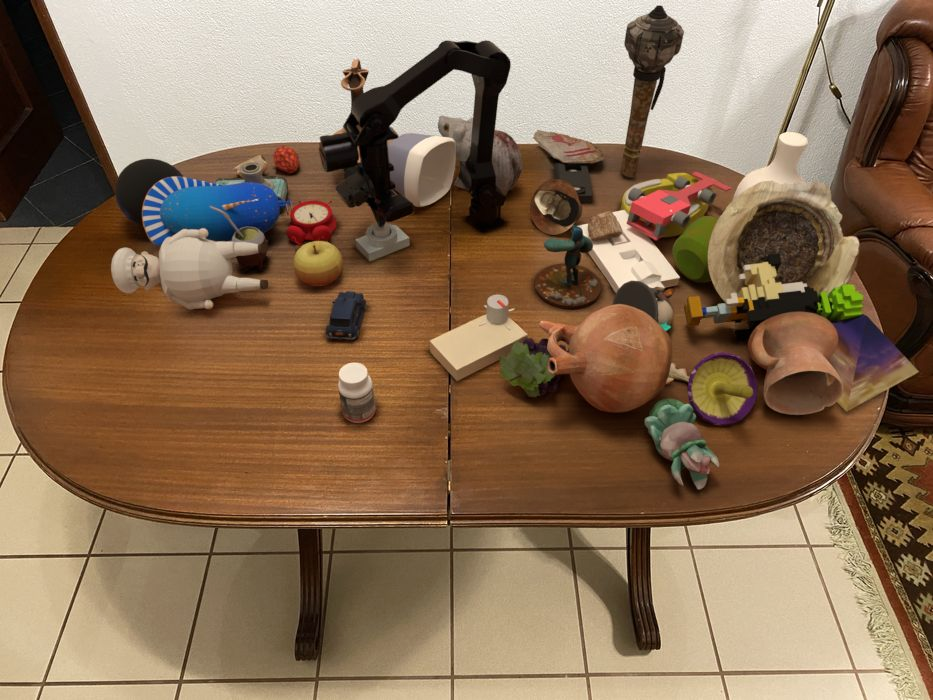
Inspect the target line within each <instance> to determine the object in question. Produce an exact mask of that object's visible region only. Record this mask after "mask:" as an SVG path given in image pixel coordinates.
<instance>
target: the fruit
mask: <svg viewBox="0 0 933 700" xmlns="http://www.w3.org/2000/svg"><path fill="white" fill-rule="evenodd" d="M548 340H549V338H541V339H540V341H538V342H535V340H534V339H533V338H529V337H528V338H525V339H524V340H523V342H522V343H521V344H520V343H519V342H518V341H517V340H516V341H515V343H514V345H513V346H512V347H513V349H512V348H511V354H509V353H507V356H506V357H502V356H499V359H500V360H499V365H500V368H499V369H500V372H499V373H500V375H501V377H502V378H503V379H504V380H505V381H507V382H508V383H510V386H513V387H516V386H517V387H521V389H522V390H524V392H525V393H526V395H527V397H529V398H537V396H543V395H545V394H546V393H547V392H551V393H552V392H553V393H554V392H555V391H557V389H558V388H559V384H558V383H559V382H558V381H560V380H561V378H562V375H563V374H560V375H553V374H551V373H550V372H549V370H548V361H549V359H550V358H553V357H552V356H551V355H550V353H549V352H548V350H547V345H548ZM558 345H559V346H560V347H561V348H562V349H563V350H565V351H566V352H568V350H567V347H566V346H565V345H564V344H558Z"/></svg>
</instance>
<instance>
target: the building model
mask: <svg viewBox="0 0 933 700" xmlns="http://www.w3.org/2000/svg"><path fill="white" fill-rule="evenodd" d="M611 212H612V213H613V214H614V215H615V216H616V218H617V221H618V222H619V224H620V226H621V228H622V234H621V235H620V236H619V237H617V238H616V237H614V238H607V239H602V240H598V241H592V240H591V238H590V237H589V233H588V223H585V224H580V225H577V226H578V227H580V228H582V230H583V235H584V236H586V237H587V238H589V239H590V240H591V242H592V244H593V248H592V250H591V251H589V252H588V255H589V256H590V257H591V259H592V260H593V262H594V263H595V265H596V266H597V268H598V269H599V271H600V272H601V274H602V275H603V276H604V277H605V279H606V281H607V282H608V284H609V285H610V287H611V288H612V290H613V292H614V293H615V294H616V293H617V291H618V289H619V288H620V287H621V286H622V285H623V284H624V283H627V282H629V281H641V282H643V283H644V284H646V285H648V286H649V287H651V288H654V289H656V290H659V291H661V293H662V294H663V293H664V290H665V289H666V288H672V287H677V286H678V284H679V281H680V278H681V276H680V275H679V274H678V273H677V272H676V270H675V269H674V267H673V266H672V265H671V263H670V262H669V261H668V260H667V258H666V257H665V256H664V254H663V253H662V252H661V250H660V249H659V248H658V247H657V246H656V244H655V243H654V242H653V241H652V240H651V237H649V236H647V235H646V234H644V233H642V232H640V231H638V230H637V229H635V228H633V227H631V226H630V225H628V224H626V223H627V221H628V216H629V215H628V214H627V213H626V211H625V210H621V211H620V210H617V211H611Z"/></svg>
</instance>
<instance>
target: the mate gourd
mask: <svg viewBox="0 0 933 700" xmlns="http://www.w3.org/2000/svg"><path fill="white" fill-rule="evenodd" d="M210 208H212V209H214V210H216V211H218V212H220V213H221V214H223V216H224V217H225V218H226V219H227V220H228V221H229V222H230V224H231V225H232V226H233V227H234V229H235V230H236V232H235V233H234V235H233V237H232V240H231V242H247V243H254V244H266V247H267V251H266V253H256V254H252V255H245V256H236V257H235V258H236V260H237V262H238V264H239V265H240V267H241V268H240V270H241V272H243V273H245V272H247V271H248V270H250V269H252V268H256V269H257V270H258V271H260V272H262V273H263V272H264V271H265V267H264V266H263V262H265V261H267V260H268V256H267V253H268V248H269V247H268V246H269V245H268V242H267V241H266V240H267V238H266V236H265V233H262V232H261V231H260V230H258V229H257V228H255V227H243V228H240V229H237V227H236V226H235V225H234V223H233V222H232V220H231V219H230V218H229V216H228V214H227V213H225V212H223V211H222V210H220V209H217V208H215V207H212V206H210Z"/></svg>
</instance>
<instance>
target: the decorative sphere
mask: <svg viewBox="0 0 933 700" xmlns="http://www.w3.org/2000/svg"><path fill="white" fill-rule="evenodd" d="M173 176H179V177H184V175H183V174H182V173H181V171H179V170H178V169H177V168H176V167H175V166H174V165H172V164H171V163H169V162H167V161H164V160H161V159H157V158H142V159H138V160H134V161H133V162H130V163H129V164H128V165H126V166H125V167H124V168H123V169H122V170H121V172H120V173H119V175H118V177H117V179H116V182H115V187H114V196H115V200H116V203H117V205H118V207H119V209H120V211H121V212H122V213H123V215H124V216H125V217H126V218H127V219H128V220H129V221H131V222H132V223H134V224H135V225H137V226H139V227H141V228H144V226H143V221H142V207H143V203H144V200H145V197H146V195H147V193H148V191H149V190H150V189H151V187H152V186H153V185H154V184H155V183H157V182H158V181H160V180H162V179H164V178H167V177H173Z"/></svg>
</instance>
